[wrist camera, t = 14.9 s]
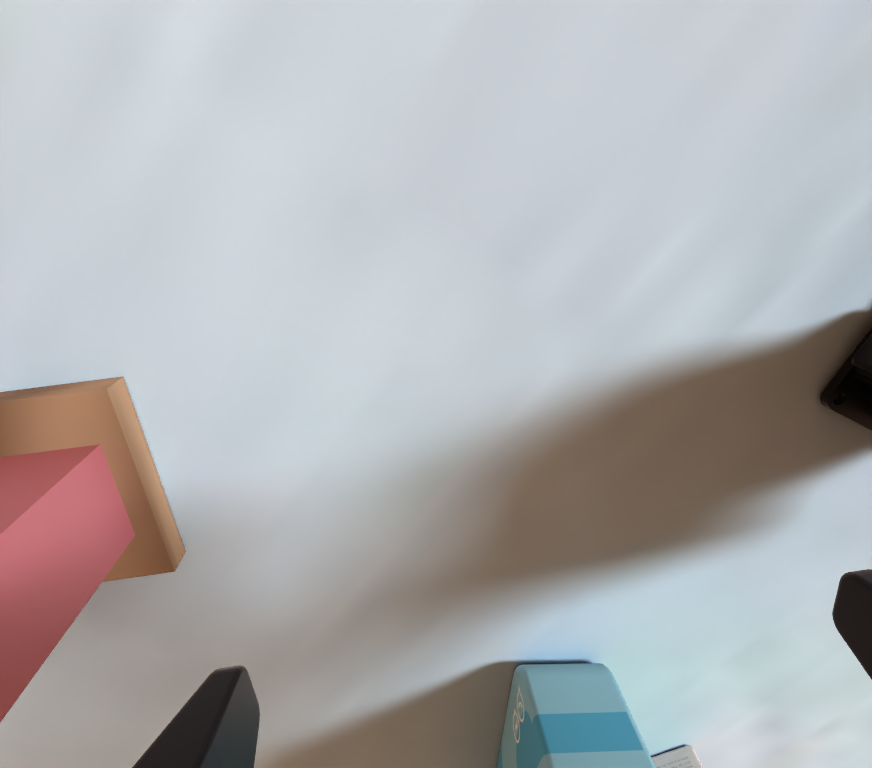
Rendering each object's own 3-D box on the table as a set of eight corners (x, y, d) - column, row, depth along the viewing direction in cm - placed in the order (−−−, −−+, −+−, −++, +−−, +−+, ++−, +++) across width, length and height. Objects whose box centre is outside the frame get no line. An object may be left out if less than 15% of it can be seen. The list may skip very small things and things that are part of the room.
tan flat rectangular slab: (123, 376, 19) (106, 388, 18) (185, 551, 22) (174, 571, 21) (-154, 412, 18) (-189, 426, 17) (-52, 585, 21) (-76, 607, 20)
